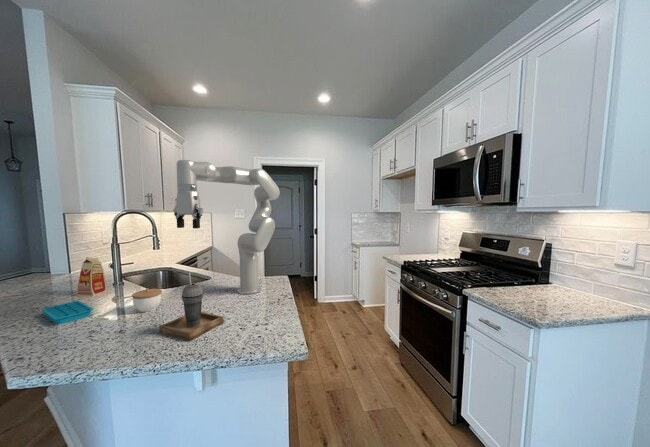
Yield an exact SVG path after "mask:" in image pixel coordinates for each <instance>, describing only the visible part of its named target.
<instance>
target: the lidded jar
mask: <svg viewBox="0 0 650 447" xmlns="http://www.w3.org/2000/svg"><path fill="white" fill-rule="evenodd" d="M162 293H163V291H162V289H160V288H150V289H149V287H148V288H145V289H143V290H140V291H136V292H134V293H133V294H131V295H132V296H131V297H132V303H133V304H132V305H133V306H134V308H135V309H136V310H137V311H139V312H140V313H147V312H151V311H154V310H156V309H157V307H159V305H160V304H161V301H162Z"/></svg>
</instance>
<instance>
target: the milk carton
mask: <svg viewBox="0 0 650 447" xmlns="http://www.w3.org/2000/svg"><path fill="white" fill-rule="evenodd" d="M77 283H78V284H77V291H76V296H77V297H95V296H98V295H101V294H103V293H106V292H107V291H108V289H107V281H106V276H105V271H104V267H103V264H102V262H101V261H100V260H99V257H87V256H86V257H85V260H84V261H83V262H82V265H81V269H80V272H79V278H78V282H77Z"/></svg>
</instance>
